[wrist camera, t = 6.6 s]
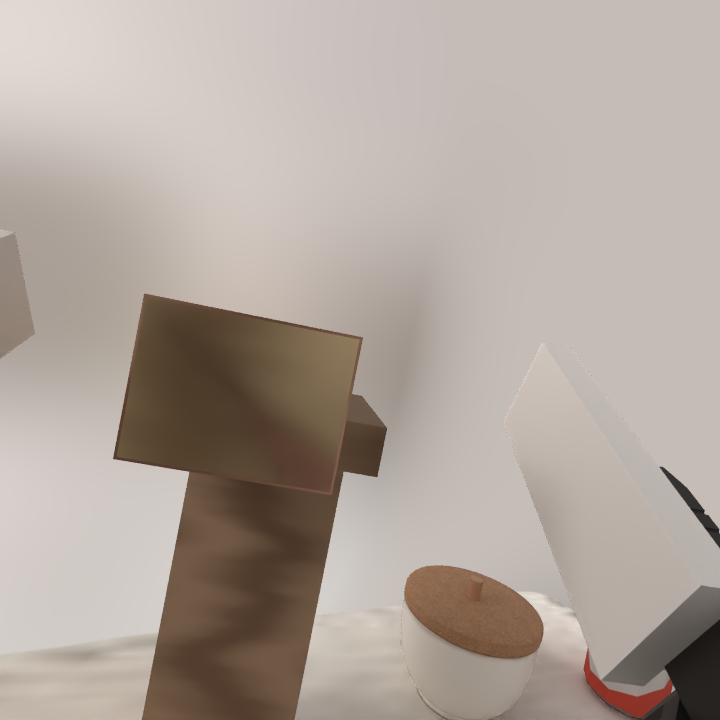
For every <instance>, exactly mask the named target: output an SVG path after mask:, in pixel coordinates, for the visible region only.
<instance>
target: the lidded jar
mask: <svg viewBox="0 0 720 720" xmlns="http://www.w3.org/2000/svg"><path fill="white" fill-rule="evenodd" d="M542 637H543V623H542V620H541V618H540V616H539V614H538V613H537V611H536V610H535V609H534V607H533V606H532V605H531V604H530V603H529V602H528V601H527V600H526V599H524V598H523V597H522V596H521V595H519V594H518V593H517V592H515V591H514V590H512V589H511V588H508V587H507V586H506V585H504V584H502V583H500V582H498V581H496V580H494V579H492V578H489V577H487V576H484V575H482V574H479V573H476V572H473V571H469V570H466V569H462V568H457V567H451V566H426V567H423V568H420V569H417V570H415V571H414V572H413V573H411V574H410V576H409V577H408V578H407V582H406V586H405V599H404V603H403V609H402V615H401V648H402V654H403V658H404V662H405V665H406V668H407V670H408V672H409V675H410V677H411V678H412V680H413V682H414V683H415V685H416V687H417V690H418V692H419V695H420V696H421V698H422V699H423V701H424V702H425V703H426V704H427V705H428V706H429V707H430V708H431V709H432V710H433V711H435V712H436V713H437V714H439V715H440V716H442V717H444V718H446V719H448V720H488V719H490V718H493V717H496V716H498V715H501V714H502V713H504V712H505V711H507V710H508V709H509V708H511V707H512V706H513V705H514V704H515V702H516V701H517V700H518V699H519V698H520V696H521V695H522V693H523V691H524V690H525V688H526V686H527V684H528V681H529V679H530V676H531V673H532V671H533V668H534V664H535V660H536V656H537V652H538V648H539V646H540V644H541V641H542Z"/></svg>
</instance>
